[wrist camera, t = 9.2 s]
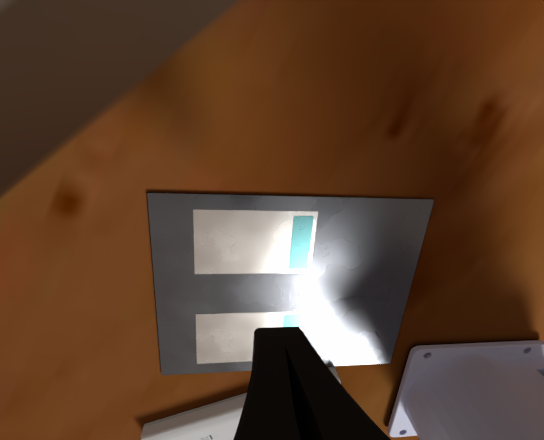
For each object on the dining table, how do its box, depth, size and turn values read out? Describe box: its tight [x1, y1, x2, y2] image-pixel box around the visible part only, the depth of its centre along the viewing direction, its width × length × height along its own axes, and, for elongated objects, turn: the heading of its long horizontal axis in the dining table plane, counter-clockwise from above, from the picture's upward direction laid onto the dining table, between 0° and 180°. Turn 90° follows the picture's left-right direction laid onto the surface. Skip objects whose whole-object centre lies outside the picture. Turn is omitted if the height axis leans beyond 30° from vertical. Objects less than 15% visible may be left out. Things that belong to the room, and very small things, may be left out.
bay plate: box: [147, 192, 434, 375], centre depth 18 cm, size 14×11×1 cm
